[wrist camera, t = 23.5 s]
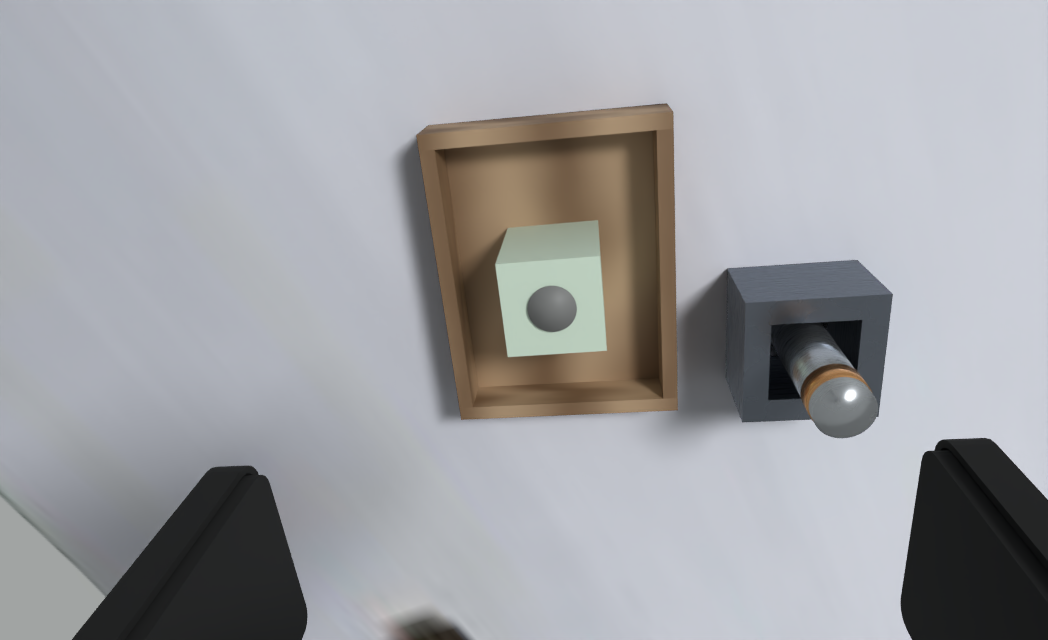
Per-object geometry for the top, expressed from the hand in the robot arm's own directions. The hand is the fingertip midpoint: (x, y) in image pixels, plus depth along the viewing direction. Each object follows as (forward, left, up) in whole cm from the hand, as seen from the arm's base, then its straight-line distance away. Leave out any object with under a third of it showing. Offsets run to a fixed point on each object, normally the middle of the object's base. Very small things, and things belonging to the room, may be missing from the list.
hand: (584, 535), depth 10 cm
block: (+11, -11, -30) cm, 34 cm away
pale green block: (-2, -6, -30) cm, 30 cm away
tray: (-2, -6, -30) cm, 31 cm away
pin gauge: (+11, -11, -30) cm, 34 cm away
